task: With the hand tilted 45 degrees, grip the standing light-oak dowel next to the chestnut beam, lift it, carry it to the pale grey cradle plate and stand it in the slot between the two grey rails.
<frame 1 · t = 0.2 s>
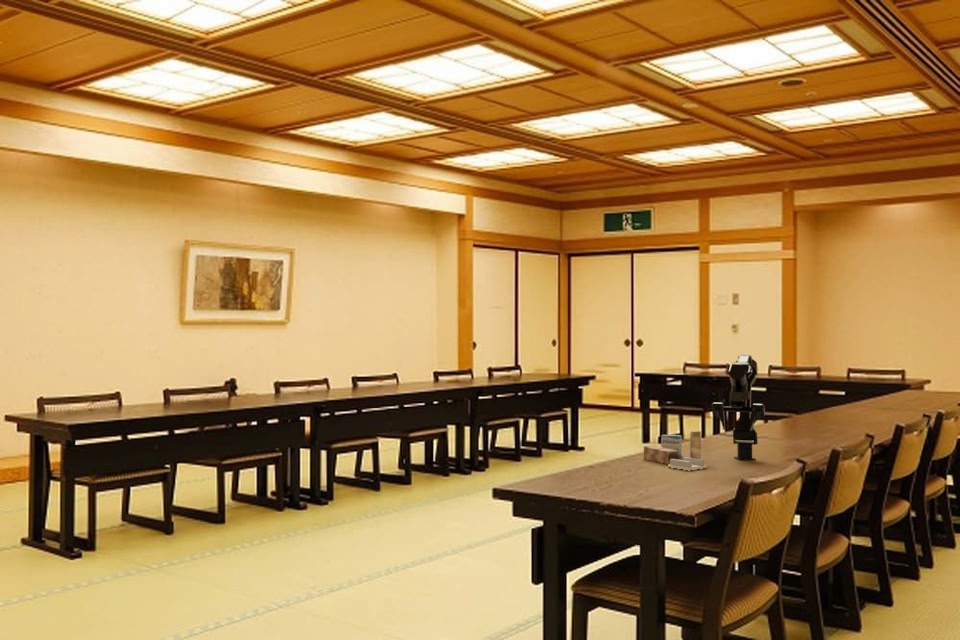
hand: (736, 430, 329), 15 cm above the table, tool tilted 35°, fingers open, 9 cm apart
beam: (660, 461, 352), on the table
dowel: (695, 463, 346), on the table
cradle: (687, 468, 336), on the table
medicine box: (671, 457, 365), on the table
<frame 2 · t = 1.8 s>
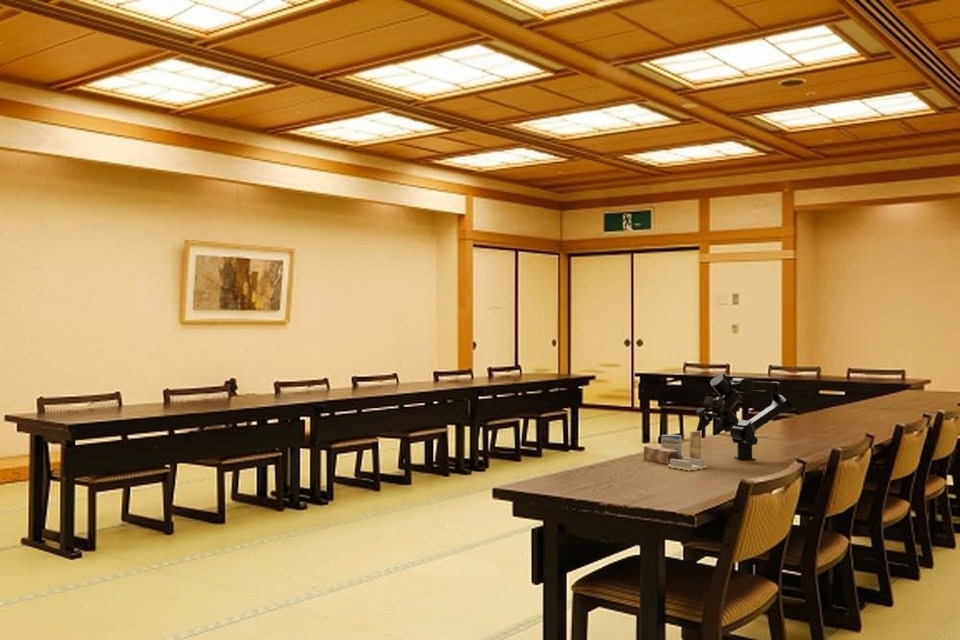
hand: (705, 432, 348), 12 cm above the table, tool tilted 45°, fingers open, 9 cm apart
nothing on the table moved.
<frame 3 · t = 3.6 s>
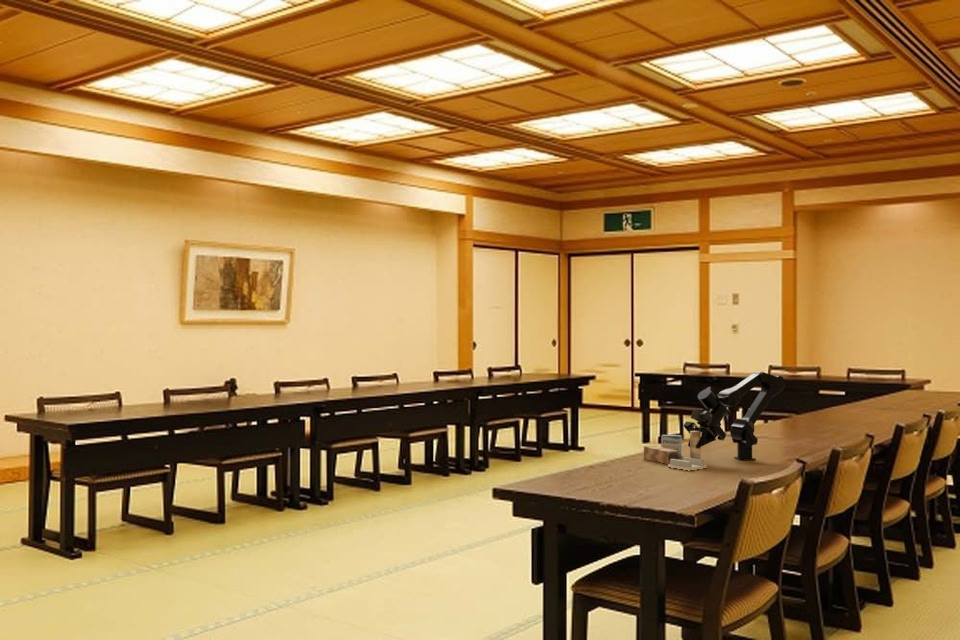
hand: (692, 447, 345), 7 cm above the table, tool tilted 45°, fingers closed on dowel, 4 cm apart
dowel: (695, 463, 346), on the table, touching gripper
everything else where it was.
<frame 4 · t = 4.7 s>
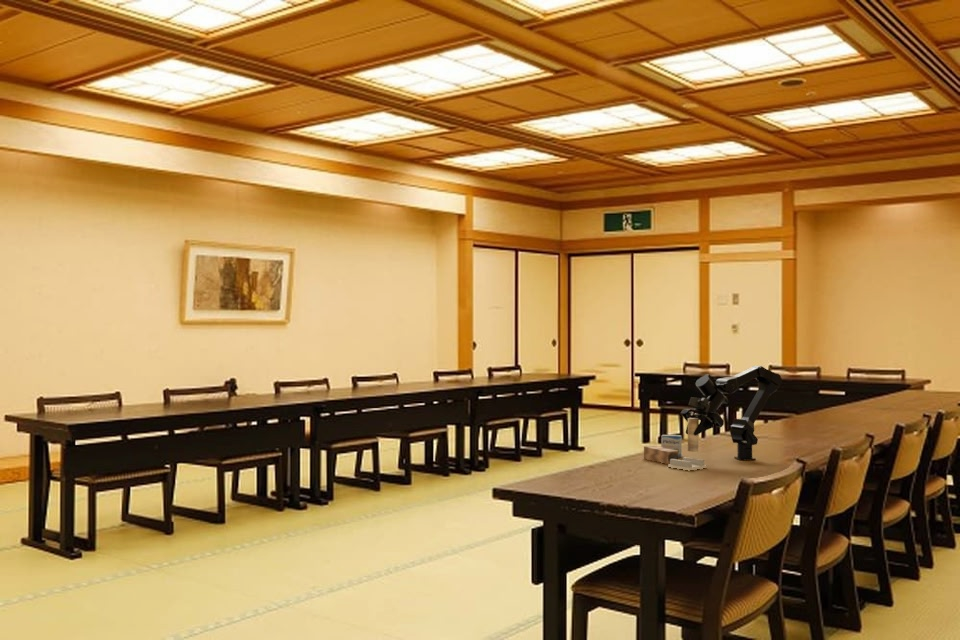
hand: (690, 434, 344), 12 cm above the table, tool tilted 45°, fingers closed on dowel, 4 cm apart
dowel: (693, 451, 344), point 5 cm above the table, touching gripper
everything else where it was.
when the fingers open (8 cm above the table, at t = 6.0 s): dowel stays where it is, resting on cradle.
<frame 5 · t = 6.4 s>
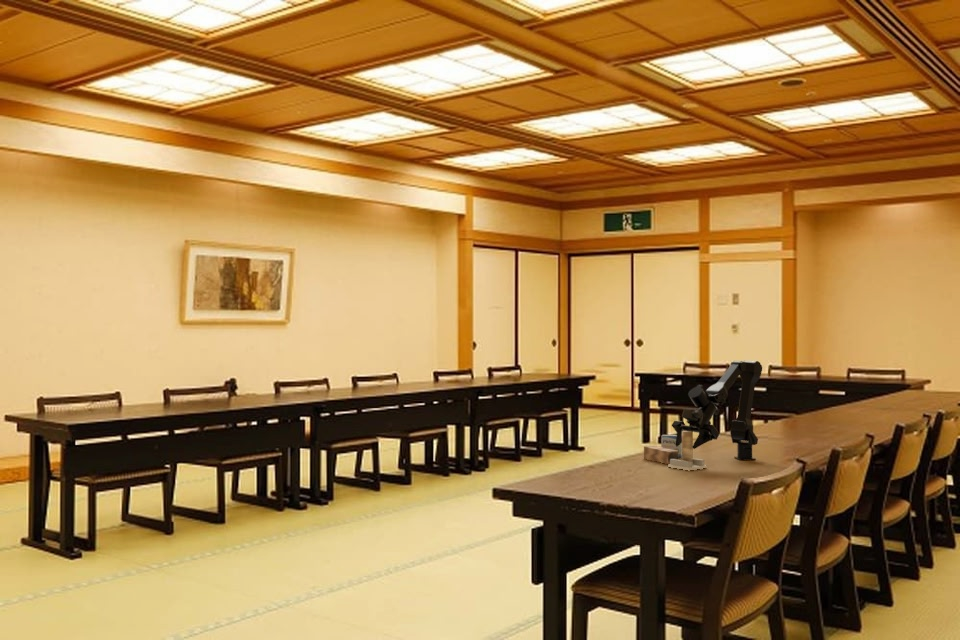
hand: (684, 446, 335), 8 cm above the table, tool tilted 45°, fingers open, 8 cm apart
dowel: (687, 464, 336), point 1 cm above the table, touching cradle
everything else where it was.
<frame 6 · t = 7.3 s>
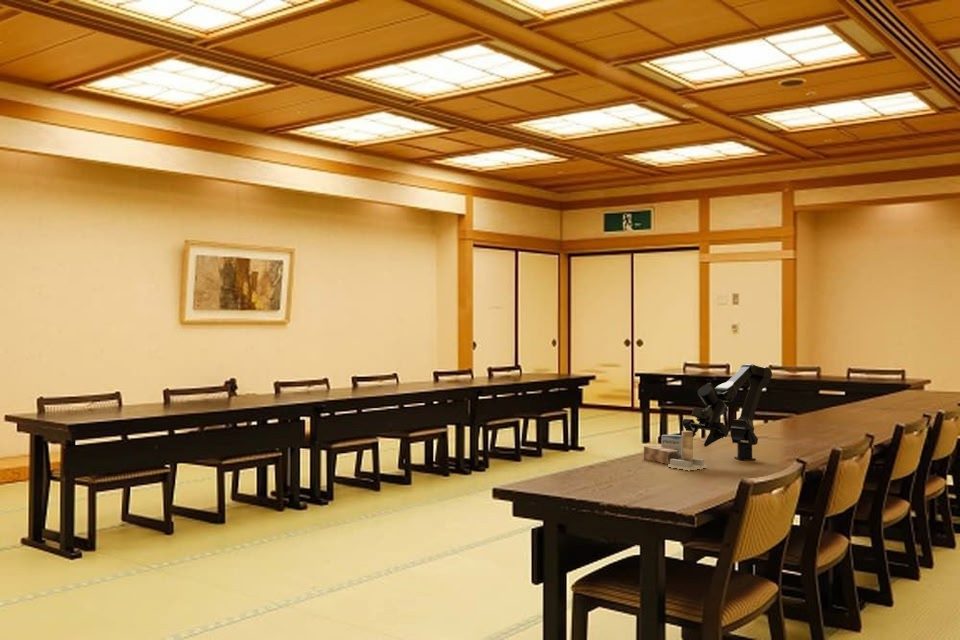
hand: (694, 444, 339), 8 cm above the table, tool tilted 45°, fingers open, 9 cm apart
nothing on the table moved.
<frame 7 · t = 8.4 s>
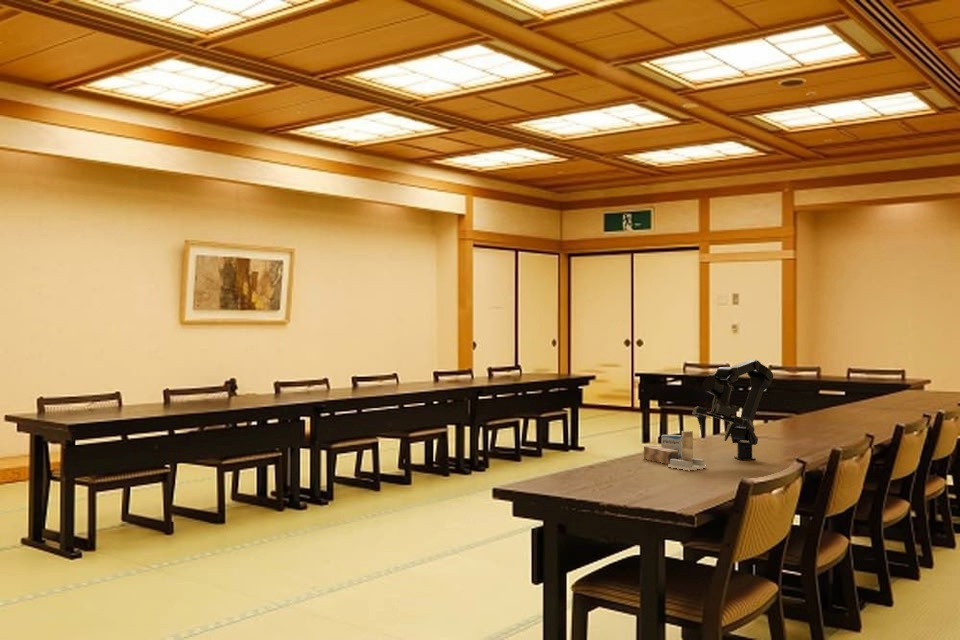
hand: (713, 437, 344), 10 cm above the table, tool tilted 20°, fingers open, 9 cm apart
nothing on the table moved.
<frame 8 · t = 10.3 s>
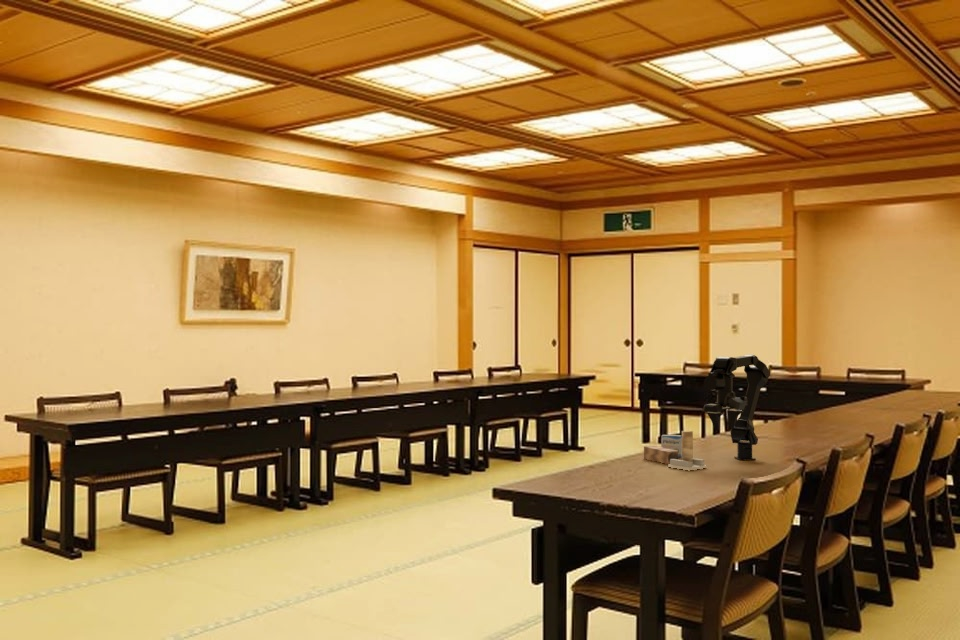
hand: (724, 429, 348), 13 cm above the table, tool pointing down, fingers open, 9 cm apart
nothing on the table moved.
at the end: dowel 0.1 cm off-centre on the cradle, point 1.2 cm above the cradle's base; dowel tilted 0°; the gripper is holding nothing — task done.
